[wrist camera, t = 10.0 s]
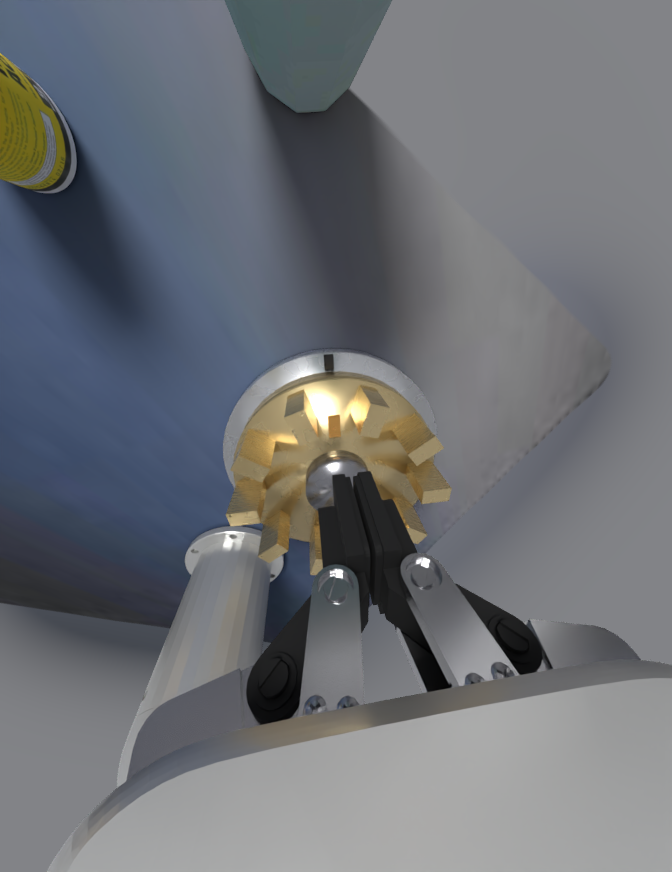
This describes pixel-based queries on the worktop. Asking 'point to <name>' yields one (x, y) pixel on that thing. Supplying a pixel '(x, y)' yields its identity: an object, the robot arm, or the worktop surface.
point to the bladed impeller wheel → (330, 457)
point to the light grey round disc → (310, 365)
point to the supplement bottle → (32, 135)
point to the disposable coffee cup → (307, 45)
